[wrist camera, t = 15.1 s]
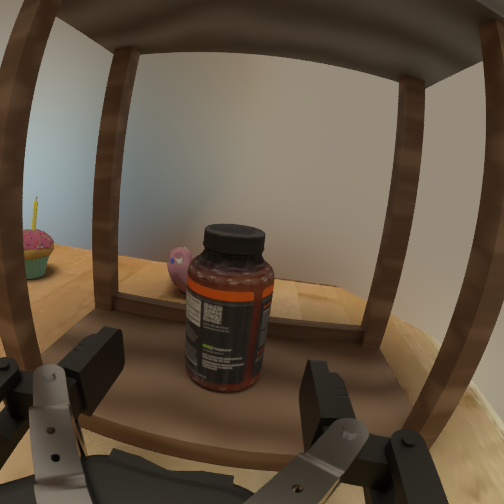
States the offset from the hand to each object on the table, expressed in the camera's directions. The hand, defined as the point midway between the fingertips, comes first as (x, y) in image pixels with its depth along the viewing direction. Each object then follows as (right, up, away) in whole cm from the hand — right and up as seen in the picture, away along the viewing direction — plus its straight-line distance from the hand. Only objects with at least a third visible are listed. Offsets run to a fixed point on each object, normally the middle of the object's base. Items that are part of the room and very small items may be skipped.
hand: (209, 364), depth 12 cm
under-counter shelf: (-1, -7, +11) cm, 13 cm away
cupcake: (-33, +1, +26) cm, 42 cm away
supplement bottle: (-1, -5, +11) cm, 12 cm away
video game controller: (-8, -1, +32) cm, 33 cm away
